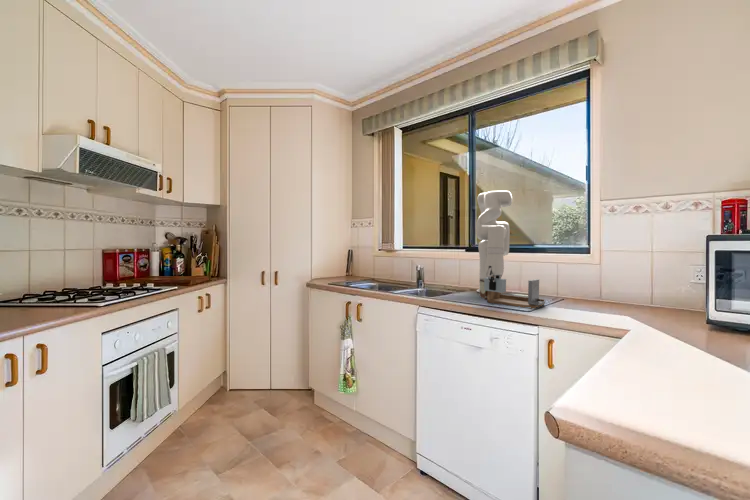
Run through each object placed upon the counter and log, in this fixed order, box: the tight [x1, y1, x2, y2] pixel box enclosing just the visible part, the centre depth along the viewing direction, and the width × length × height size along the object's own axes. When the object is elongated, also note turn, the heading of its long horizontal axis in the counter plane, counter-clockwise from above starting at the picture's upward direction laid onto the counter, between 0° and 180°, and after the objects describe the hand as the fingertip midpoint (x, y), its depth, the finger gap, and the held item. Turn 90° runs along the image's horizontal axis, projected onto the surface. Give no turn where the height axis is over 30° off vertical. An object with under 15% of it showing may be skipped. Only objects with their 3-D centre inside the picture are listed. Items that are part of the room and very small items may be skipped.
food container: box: [479, 277, 488, 300], centre depth 189 cm, size 12×6×10 cm, turn 179°
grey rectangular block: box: [484, 277, 507, 294], centre depth 168 cm, size 4×9×6 cm, turn 44°
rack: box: [486, 276, 545, 309], centre depth 171 cm, size 12×23×13 cm, turn 44°
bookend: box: [527, 278, 546, 305], centre depth 164 cm, size 9×5×11 cm, turn 134°
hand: (494, 289), depth 168 cm, fingers closed on grey rectangular block, 4 cm apart
